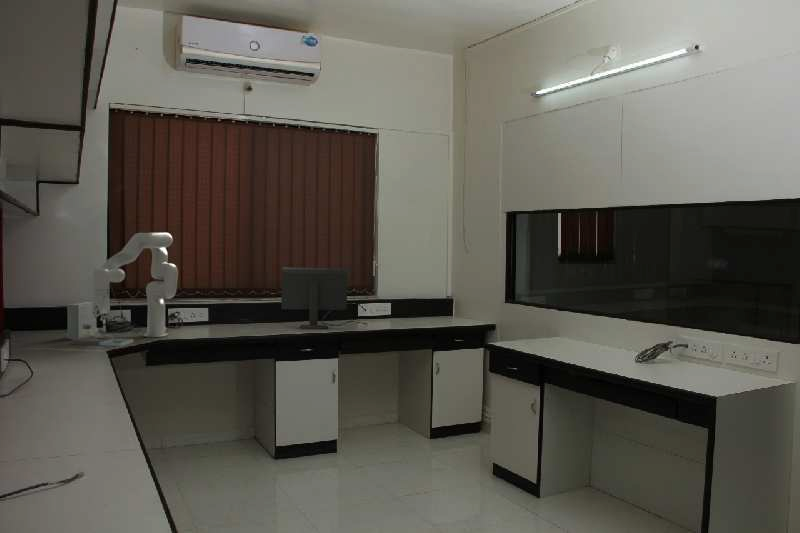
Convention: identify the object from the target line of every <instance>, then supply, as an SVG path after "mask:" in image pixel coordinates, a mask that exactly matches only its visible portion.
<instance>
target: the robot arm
mask: <svg viewBox="0 0 800 533" xmlns="http://www.w3.org/2000/svg"><path fill="white" fill-rule="evenodd" d="M173 241H174V240H173V236H172V235H171V234H170V233H169V232H159V231H158V232H157V231H156V232H155V231H154V232H153V231H151V232H138V233H135V234H134V235H132V237H131V238H130V240H128V242H127V243H126V245H125V246H124V247H123V248H122V250H121V251H119V252H117V253H115V254H114V255H112V256H111V257H110V258H108V259H107V260H106V261H104V263H103V264H102V266H101V267H100V268H95V269H94V270H93V298H92V302H93V304H92V314H94V317H95V318H96V328H103V320H102V315H105V316H106V319H105V323H106V325H105V328H107V327H108V318H109V317H108V316H109V314H110V311H111V302H110V295H111V294H110V283H120V282H123V280H125V278H126V273H125V271H124V270H123V269H122V268H121V267H122V266H124V265H128V264H130V263H133V262H134V261H136V260H137V258H138V257H139V256H140V254H141V253H142V252H143V250H144V249H150V251H151V258H152V259H151V266H150V275H151V277H152V278H153V279H156V280H158V281H155V280H154V281H151V282H149V283H148V284H147V285H146V287H145V293H146V298H147V299H146V300H147V321H146V323H147V325H146V326H147V330H146V333H144V334H143V335H144V337H146V338H160V337H162V338H163V337H167V336H169V335H168V334H169V333H167V332H166V331H167V327H166V302H165V300H164V299H166V300H167V299H168V300H169V299H172V298H174V297H175V295H176V293H177V289H178V288H177V287H178V279H179V269H178V267H177V266H176V265H175V263H169V262H168V261H169V260H168V258H169V254H168V250H167V248H168V247H170V246H171V245H172V244H173ZM160 280H163V281H160Z"/></svg>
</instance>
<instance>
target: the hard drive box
mask: <svg viewBox="0 0 800 533" xmlns="http://www.w3.org/2000/svg"><path fill="white" fill-rule="evenodd" d="M92 304H93V301H86V302H78V303H68V304H67V340H74V339H78V338H82V337H83V325H91V330H90V335H97V336H101V333H98V328H96V318H95V317H94V314H92Z"/></svg>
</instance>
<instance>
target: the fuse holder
mask: <svg viewBox="0 0 800 533" xmlns="http://www.w3.org/2000/svg"><path fill="white" fill-rule="evenodd" d="M90 338H91V339H83V337H82V338H78V339H70V345H83V346H84V345H85V346H87V345H89V346H99V342H103V341H107V340H110V339H116V336H111V335H109V334H108V335H107V334H105V335H103V336H101V335H100V336H97V335H90Z"/></svg>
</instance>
